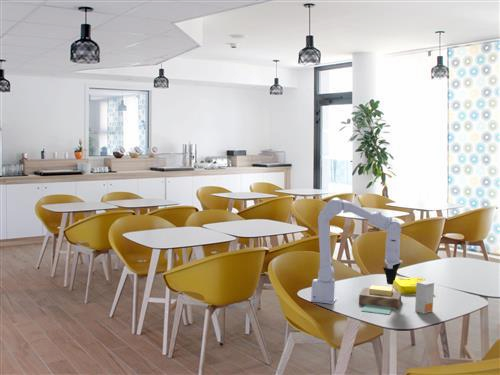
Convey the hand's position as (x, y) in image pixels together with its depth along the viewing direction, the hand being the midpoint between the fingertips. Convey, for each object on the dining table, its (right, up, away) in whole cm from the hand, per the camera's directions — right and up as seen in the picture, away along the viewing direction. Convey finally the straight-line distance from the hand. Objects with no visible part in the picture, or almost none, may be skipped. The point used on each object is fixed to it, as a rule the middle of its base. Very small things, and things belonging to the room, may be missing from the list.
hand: (391, 281), depth 228 cm
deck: (-3, -10, +5) cm, 11 cm away
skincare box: (+12, -11, -6) cm, 17 cm away
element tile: (+16, -9, +26) cm, 32 cm away
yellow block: (-3, -6, +6) cm, 9 cm away
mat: (-7, -11, -4) cm, 13 cm away
